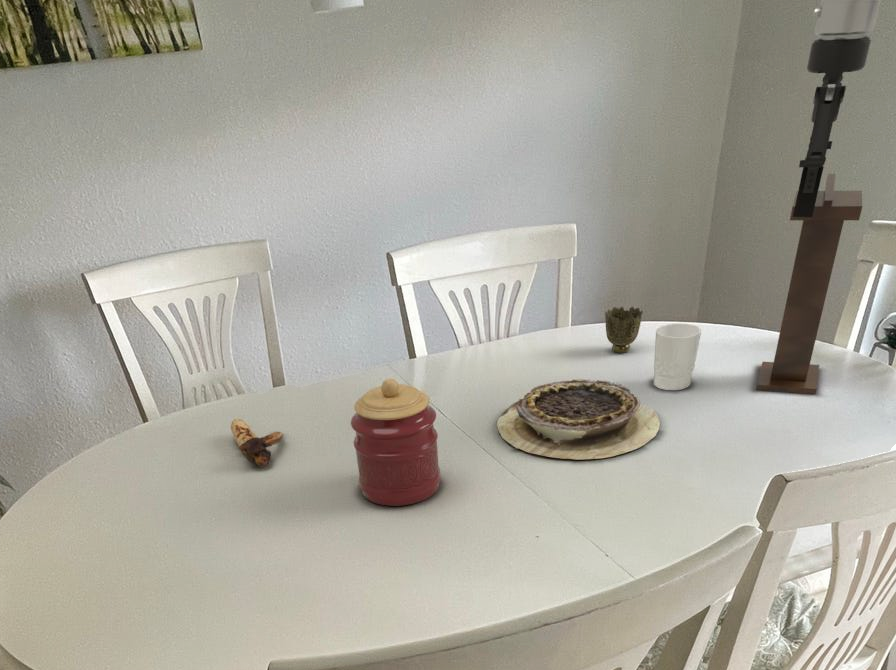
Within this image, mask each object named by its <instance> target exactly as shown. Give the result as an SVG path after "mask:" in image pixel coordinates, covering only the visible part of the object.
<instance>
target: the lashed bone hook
mask: <svg viewBox="0 0 896 670" xmlns="http://www.w3.org/2000/svg"><path fill="white" fill-rule="evenodd" d="M230 431H231V433H232V435H233V438H234V440H235V442H236V444H237V445H238V449H239V451H241V452H242V453H243V454H244V455H245V456H246V457H247V459H248V460H250V461H251V462H253V463H254V464H255V465H256V466H258V467H261V468H263V467H267V466H268V465H270V461H271V456H272V451H271V450H268V449H267V448H268V447H269V448H270V447H272V446H273V445H276V444H278V443H279V442H280V441H281V440H282V438H283V433H282V432H280V431H274V432H273V433H272V434H268V435H265V436H262V437H257V435H256V434H255V433H254V431H253V430H252V429H251V427H250V426H249V424H247V423H246V422H245V421H244V420H243V419H241V418H235V419H233V420H232V421H231V424H230Z"/></svg>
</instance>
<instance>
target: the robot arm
mask: <svg viewBox="0 0 896 670" xmlns="http://www.w3.org/2000/svg"><path fill="white" fill-rule="evenodd" d="M881 2H882V0H820V6H821V7H816V8H815V9H814V11H813V17H815V18H817V17H818V19H817V20H816V23H815V29H814V34H815V36H818V38H817V39H814V41H813V42H811V46H810V52H809V57H808V60H807V61H808V62H807V66H806V70H807V72H808V73H811V74H824V75H823V77H822V84H821V86H816V87H815V92H814V97H813V101H812V104H813V108H812V114H811V120H810V121H811V122H812V123H813V127H812V131H811V134H810V138H809V143H808V150H807V152H806V156H805V158H804V159H800V160H799V165H798V168H802V170H801V171H802V172H801V176H800V181H799V186H798V190H797V191H798V195H797V199H796V204H795V209H794V213H793V217H812V216H813V211H814V207H815V203H816V198H817V194H818V191H819V189H820V185H821V180H822V176H823V171H824V167H825V166H824V165H825V163H826V161H827V157H826V155H827V151H828V150H832V145H833V140H830V137H831V134H832V129H833V123H835V122H836V121H837V119H838V116H839V112H840V108H841V104H842V103H843V102H844V98H845V93H846V90H847V85H843V84H842V81H843V78H844V76H843V74H844V73H853V72H858V71H861V70H863V69H864V67H866V63H867V58H868V55H869V49H870V46H871V42H872V39H871V37H869V33H871V32H873V31H874V30H875V28H876V23H877V19H878V15H879V9H880V6H881Z"/></svg>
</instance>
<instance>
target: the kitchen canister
mask: <svg viewBox="0 0 896 670" xmlns="http://www.w3.org/2000/svg"><path fill="white" fill-rule="evenodd" d="M430 402H431V400H430V397H429V395H428V394H426V392H424V391H421V390H419V389H418V388H417V387H415V386H413V385H408V384H400V383H398V381H397V380H395V379H393V378H386V379H385V380H383V381H382V383H381V385H380V386H376V387H374V388H372V389H369V390H367V391H365V393H364V394H363V395H362V396H361V397H359V398H358V399H357V400H356V401H355V402H354V406H353V409H354V412H355V413H354V414H353V416H352V417H351V419H350V426H351V428H352V430H353V431H354V432H355V437H354V439H353V446H354V449H355V454H356V460H357V461H356V462H357V470H358V484H359V488H360V489H361V492H362V493H361V494H362V495H363V496H364V498H365V499H367V500H368V501H370V502H371V503H374V504H377V505H382V506H390V507H399V506H400V507H401V506H408V505H413V504H417V503H421V502H422V501H424V500H427V499H429V498H430V497H432V496H433V495H434V494H435V493H436V492H437V491H438V490H439V488H440V481H441V469H440V465H439V454H438V453H439V452H438V451H439V450H438V438H439V437H438V432H437V430H436V429H435V427H434V423H435V421H436V420H437V412H436V410H435V409H434V407H432V406H431V405H430Z"/></svg>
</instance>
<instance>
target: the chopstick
mask: <svg viewBox="0 0 896 670" xmlns="http://www.w3.org/2000/svg"><path fill="white" fill-rule="evenodd" d="M835 183H836V173H827V176H826V182H825V187H824V191H825V194H824V202H823V209H831V207H832V202H833V194H834V191H835Z"/></svg>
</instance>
